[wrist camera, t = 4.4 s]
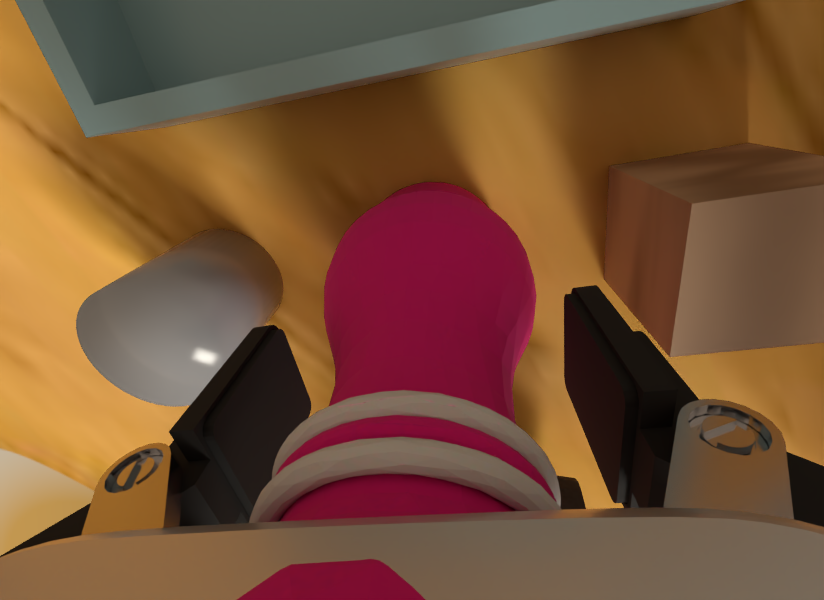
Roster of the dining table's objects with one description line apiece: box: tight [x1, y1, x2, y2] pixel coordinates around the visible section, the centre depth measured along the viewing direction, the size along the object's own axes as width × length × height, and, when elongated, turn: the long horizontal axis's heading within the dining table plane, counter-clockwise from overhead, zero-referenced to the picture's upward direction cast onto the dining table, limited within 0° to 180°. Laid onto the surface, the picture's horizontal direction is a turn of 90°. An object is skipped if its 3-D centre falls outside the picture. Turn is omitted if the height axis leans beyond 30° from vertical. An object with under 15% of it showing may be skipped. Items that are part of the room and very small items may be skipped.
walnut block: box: [604, 143, 824, 357], centre depth 14 cm, size 5×5×6 cm
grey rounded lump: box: [76, 229, 283, 406], centre depth 17 cm, size 5×5×6 cm
